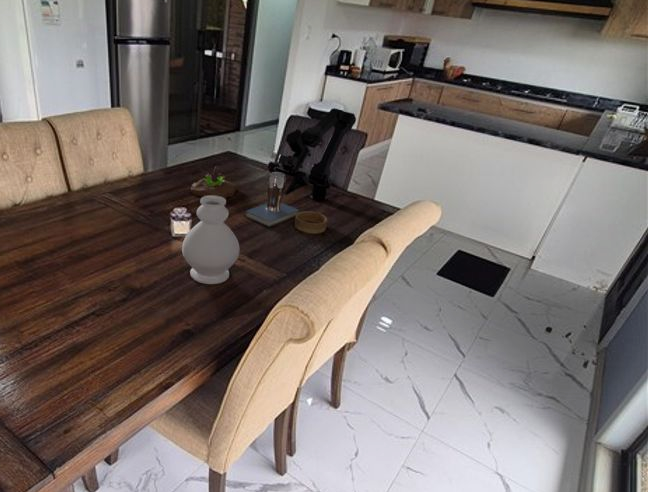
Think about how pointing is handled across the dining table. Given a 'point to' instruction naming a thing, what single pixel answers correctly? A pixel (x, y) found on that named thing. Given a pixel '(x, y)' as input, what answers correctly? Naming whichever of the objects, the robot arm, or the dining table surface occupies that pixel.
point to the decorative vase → (211, 243)
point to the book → (271, 214)
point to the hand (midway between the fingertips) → (276, 190)
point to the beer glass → (275, 191)
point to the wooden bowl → (309, 216)
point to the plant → (214, 186)
